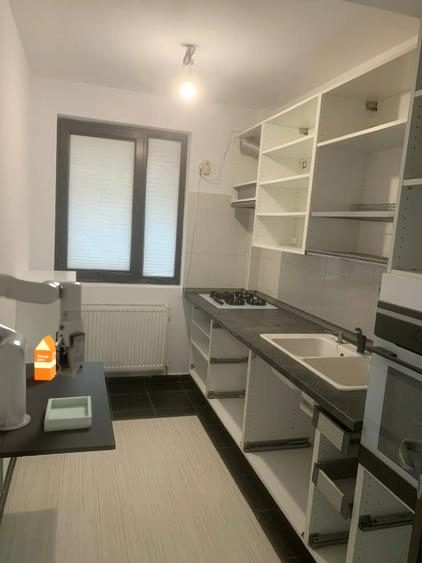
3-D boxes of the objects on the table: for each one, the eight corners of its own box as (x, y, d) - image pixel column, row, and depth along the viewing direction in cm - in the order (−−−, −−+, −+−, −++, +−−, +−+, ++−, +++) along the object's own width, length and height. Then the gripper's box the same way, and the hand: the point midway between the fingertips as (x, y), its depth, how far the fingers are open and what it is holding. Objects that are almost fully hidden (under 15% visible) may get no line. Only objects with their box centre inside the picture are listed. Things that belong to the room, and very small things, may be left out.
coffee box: (54, 373, 153) (55, 331, 152) (67, 369, 159) (68, 328, 157) (72, 378, 149) (72, 335, 147) (85, 373, 155) (85, 332, 153)
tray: (91, 427, 149) (91, 416, 148) (44, 431, 144) (44, 420, 143) (90, 405, 168) (90, 396, 167) (48, 408, 163) (48, 398, 162)
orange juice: (57, 374, 203) (57, 334, 201) (50, 380, 194) (51, 339, 192) (41, 373, 203) (41, 334, 201) (34, 379, 194) (34, 338, 192)
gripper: (64, 319, 142) (63, 369, 144) (92, 312, 159) (91, 356, 161) (46, 317, 144) (45, 366, 146) (76, 310, 161) (75, 354, 163)
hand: (70, 360), depth 153 cm, fingers closed on coffee box, 7 cm apart
